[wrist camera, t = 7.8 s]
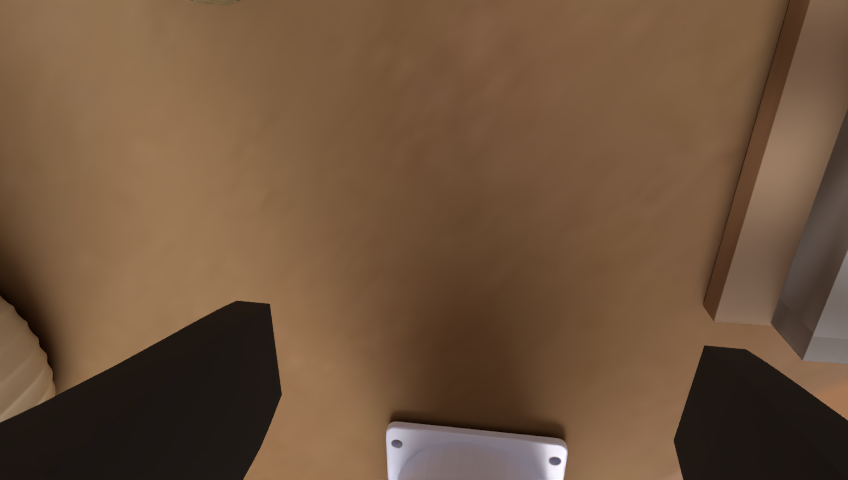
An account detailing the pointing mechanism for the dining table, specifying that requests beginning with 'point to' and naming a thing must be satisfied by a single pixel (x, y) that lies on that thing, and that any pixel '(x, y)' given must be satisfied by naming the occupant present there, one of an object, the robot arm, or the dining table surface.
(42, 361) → the canister
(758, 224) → the track
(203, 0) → the cork
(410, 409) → the dining table surface
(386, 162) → the dining table surface
